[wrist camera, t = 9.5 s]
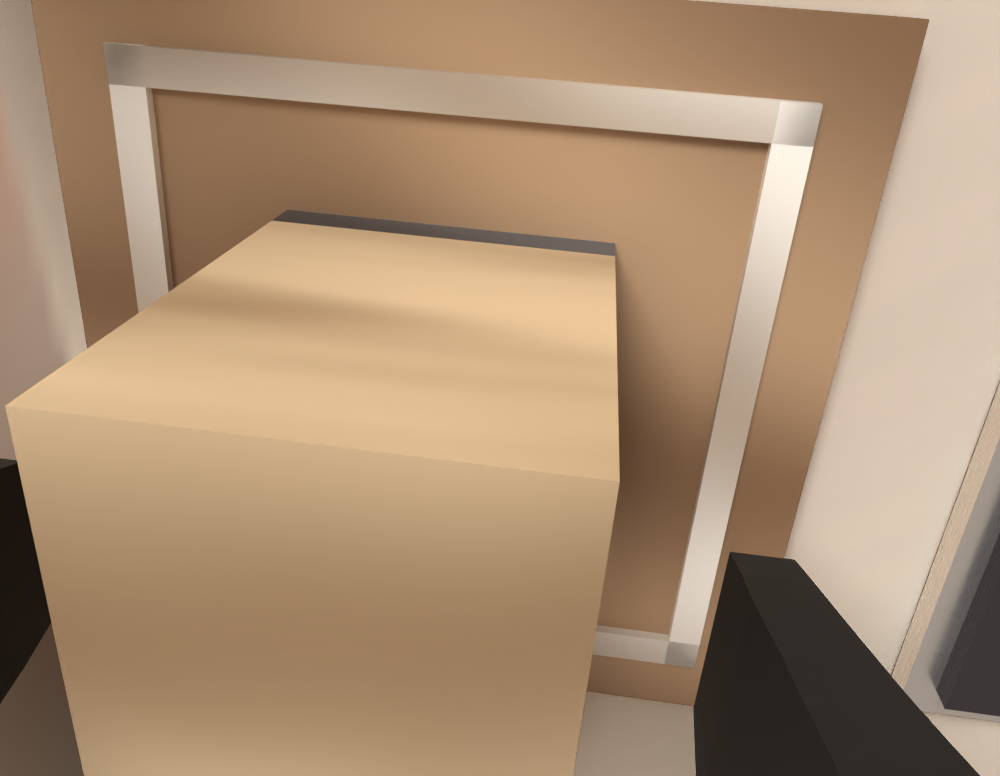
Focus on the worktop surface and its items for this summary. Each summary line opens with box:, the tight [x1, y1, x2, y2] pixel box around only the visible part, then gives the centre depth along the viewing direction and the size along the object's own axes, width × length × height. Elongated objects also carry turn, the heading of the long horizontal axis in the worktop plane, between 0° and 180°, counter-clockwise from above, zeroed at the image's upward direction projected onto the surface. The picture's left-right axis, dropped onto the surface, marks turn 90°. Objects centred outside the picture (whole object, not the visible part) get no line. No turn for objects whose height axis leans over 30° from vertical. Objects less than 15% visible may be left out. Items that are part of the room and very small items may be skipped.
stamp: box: [5, 210, 620, 776], centre depth 10 cm, size 4×4×6 cm
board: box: [31, 0, 929, 706], centre depth 13 cm, size 11×11×1 cm
